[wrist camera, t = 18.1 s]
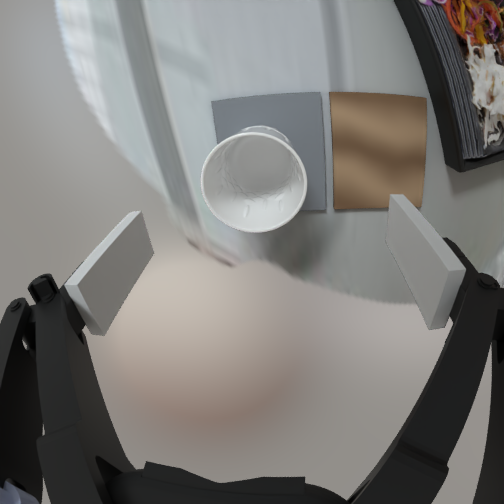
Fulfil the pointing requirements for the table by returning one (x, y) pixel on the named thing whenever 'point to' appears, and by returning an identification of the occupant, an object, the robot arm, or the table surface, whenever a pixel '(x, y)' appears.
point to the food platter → (462, 74)
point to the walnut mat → (377, 148)
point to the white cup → (254, 180)
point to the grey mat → (282, 131)
